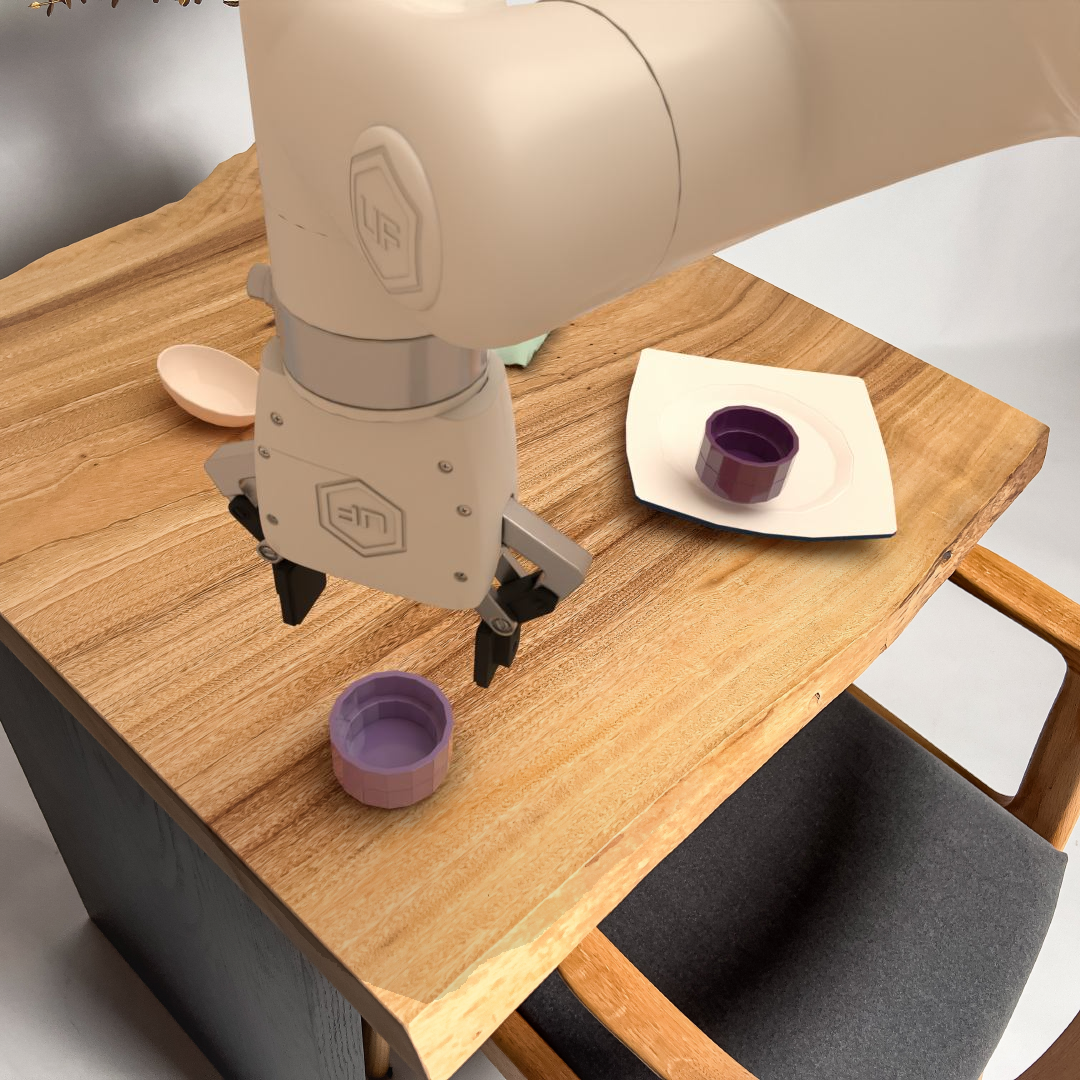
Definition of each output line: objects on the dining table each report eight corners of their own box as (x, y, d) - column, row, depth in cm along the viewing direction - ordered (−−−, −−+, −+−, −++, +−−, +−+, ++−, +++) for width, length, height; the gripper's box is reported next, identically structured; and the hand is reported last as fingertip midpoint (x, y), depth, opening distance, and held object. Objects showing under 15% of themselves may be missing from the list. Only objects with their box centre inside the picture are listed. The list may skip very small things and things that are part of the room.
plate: (626, 365, 85) (631, 339, 83) (862, 398, 85) (872, 372, 83) (616, 532, 71) (622, 505, 69) (899, 571, 71) (913, 545, 69)
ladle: (193, 362, 79) (193, 313, 75) (491, 547, 74) (506, 504, 71) (135, 399, 75) (133, 349, 71) (447, 597, 70) (461, 554, 67)
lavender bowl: (472, 776, 56) (476, 737, 53) (368, 834, 53) (366, 795, 50) (413, 694, 60) (414, 653, 57) (312, 743, 57) (307, 703, 54)
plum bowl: (802, 488, 72) (818, 446, 69) (736, 520, 69) (750, 478, 66) (740, 437, 76) (753, 395, 73) (675, 465, 73) (686, 422, 70)
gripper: (111, 321, 34) (193, 637, 46) (587, 451, 31) (543, 753, 43) (227, 228, 40) (274, 534, 52) (645, 332, 37) (592, 631, 49)
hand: (397, 634), depth 48 cm, fingers open, 9 cm apart
